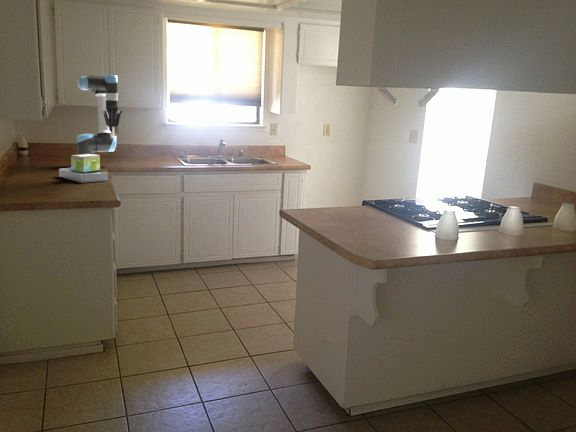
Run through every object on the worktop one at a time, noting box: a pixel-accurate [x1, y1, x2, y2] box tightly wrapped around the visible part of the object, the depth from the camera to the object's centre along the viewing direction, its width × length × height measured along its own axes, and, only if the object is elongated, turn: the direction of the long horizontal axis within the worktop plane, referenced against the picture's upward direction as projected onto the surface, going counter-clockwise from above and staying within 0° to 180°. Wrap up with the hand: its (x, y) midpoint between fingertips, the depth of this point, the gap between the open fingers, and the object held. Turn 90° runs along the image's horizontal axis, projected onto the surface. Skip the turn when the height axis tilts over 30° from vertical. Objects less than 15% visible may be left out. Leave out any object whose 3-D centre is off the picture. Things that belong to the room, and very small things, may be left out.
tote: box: [58, 167, 109, 184], centre depth 327 cm, size 17×29×5 cm, turn 49°
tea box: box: [70, 154, 101, 174], centre depth 327 cm, size 15×10×15 cm
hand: (112, 136), depth 342 cm, fingers closed
